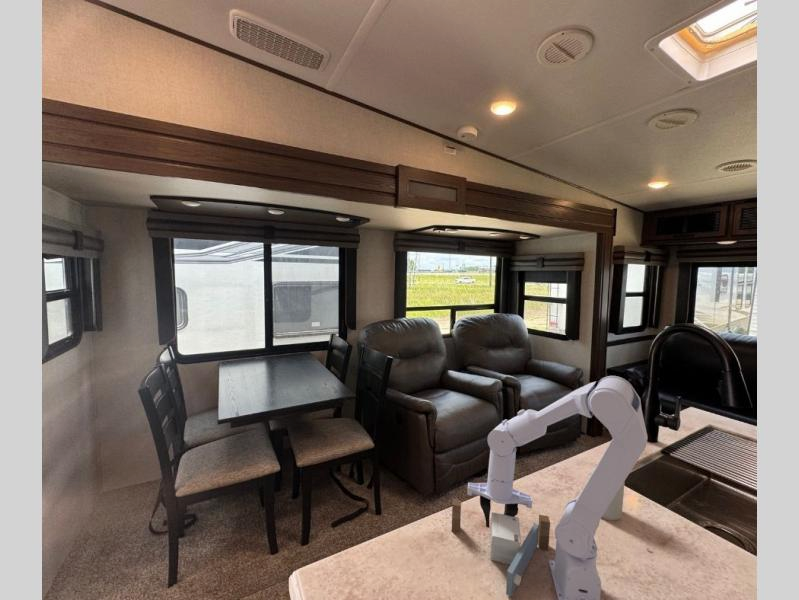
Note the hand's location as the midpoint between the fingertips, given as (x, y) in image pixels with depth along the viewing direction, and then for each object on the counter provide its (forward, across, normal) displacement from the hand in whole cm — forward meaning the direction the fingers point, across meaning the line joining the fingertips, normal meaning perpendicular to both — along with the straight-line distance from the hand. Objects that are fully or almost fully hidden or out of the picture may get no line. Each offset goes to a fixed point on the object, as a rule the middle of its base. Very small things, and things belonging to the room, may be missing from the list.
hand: (495, 526), depth 77 cm
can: (+2, -29, -16) cm, 33 cm away
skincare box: (+2, -2, +4) cm, 5 cm away
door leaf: (+2, -6, +8) cm, 10 cm away
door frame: (+3, -1, 0) cm, 3 cm away
